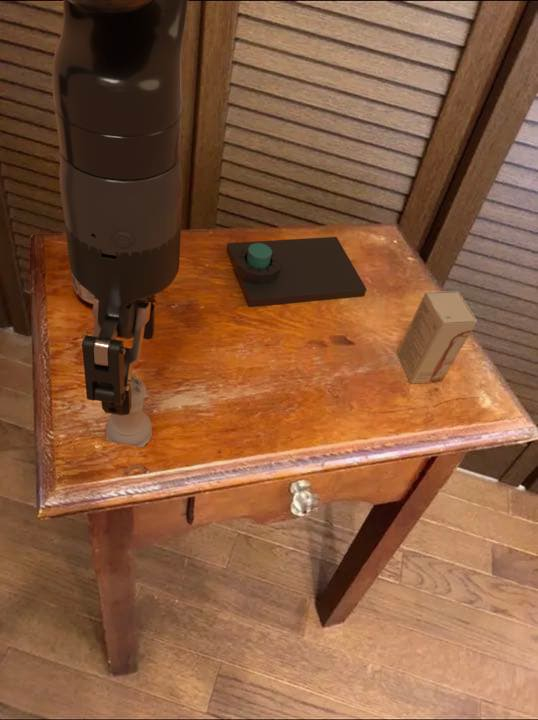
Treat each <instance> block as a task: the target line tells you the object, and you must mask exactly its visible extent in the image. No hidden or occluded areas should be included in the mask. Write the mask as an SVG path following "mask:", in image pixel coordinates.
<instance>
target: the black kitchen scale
mask: <svg viewBox="0 0 538 720" xmlns="http://www.w3.org/2000/svg"><path fill="white" fill-rule="evenodd" d="M254 243H262V244H265V245H267V246H269V247H270V248H271V250H272V255H271V260H270V264H269V266H268V267H266V268H260V269H259V268H255V267H252V266H250V265H249V264H248V263H247V254H248V248H249V246H250V245H252V244H254ZM226 255H227V256H228V259H229V262H230V264H231V266H232V269H233V272H234V274H235V277H236V279H237V282H238V284H239V287H240V290H241V292H242V295H243V297H244V298H243V299H244V300H245V303H246V305H247V307H248V308H258V307H268V306H278V305H280V306H281V305H289V304H290V305H291V304H301V303H311V302H321V301H332V300H343V299H352V298H362V297H365V295H366V293H367V287H366V285H365V283H364V282H363V281H362V280H363V279H361V276H360V275H359V274H358V271H357V269H356V268H355V267H354V264H353V263H352V261H351V260H350V258H349V256H348V254H347V252H346V251H345V249H344V247H343V245H342V244H341V242H340V240H339V239H338V237H337V236H327V237H309V238H294V239H291V238H290V239H276V240H275V239H273V240H259V241H258V240H257V241H256V240H255V241H241V242H239V241H238V242H227V245H226Z"/></svg>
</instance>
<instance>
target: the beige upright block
mask: <svg viewBox="0 0 538 720" xmlns="http://www.w3.org/2000/svg"><path fill="white" fill-rule="evenodd" d="M477 322H478V320H477V318H476V316H475V314H474V313H473V311H472V309H471V308H470V307H469V305H468V303H467V302H466V300H465V298H464V297H463V296H462V294H461V293H460V292H459V291H425V292H424V295H423V297H422V299H421V301H420V303H419V304H418V307H417V309H416V311H415V314H414V315H413V318H412V320H411V322H410V324H409V326H408V328H407V331H406V333H405V335H404V337H403V339H402V341H401V343H400V345H399V347H398V349H397V351H396V355H397V358H398V361H399V362H400V364H401V367H402V368H403V371H404V373H405V374H406V377H407V378H408V380H409V382H410V384H428V383H429V384H430V383H441V382H443V381H444V379H445V378H446V376H447V374H448V373H449V371H450V369H451V367H452V365H453V363H454V362H455V360H456V358H457V357H458V355H459V353H460V352H461V350H462V348H463V346H464V345H465V343H466V341H467V340H468V338H469V336H470V335H471V333H472V331H473V329H474V328H475V326H476V324H477Z"/></svg>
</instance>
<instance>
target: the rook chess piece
mask: <svg viewBox="0 0 538 720" xmlns="http://www.w3.org/2000/svg"><path fill="white" fill-rule="evenodd" d="M131 380H132V384H131V404H132V406H131V409H130V413H129V414H128V415H123V416H122V415H115V414H110V415H109V417H108V420H107V421H106V424H105V438H106V440H107V442H108V443H114V444H120V445H125V446H132V447H138V448H144V447H145V446H146V445H147V444H148V443H149V442H150V440H151V437H152V435H153V429H152V421H151V419H150V417H149V415H148V414H147V412H145V410H144V409H143V407H144V403H145V397H146V395H147V393H148V391H147V386H146V384H145V383H144V382H143V380H142V379H141V378H140V377H136V374H134V373H132V375H131Z"/></svg>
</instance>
